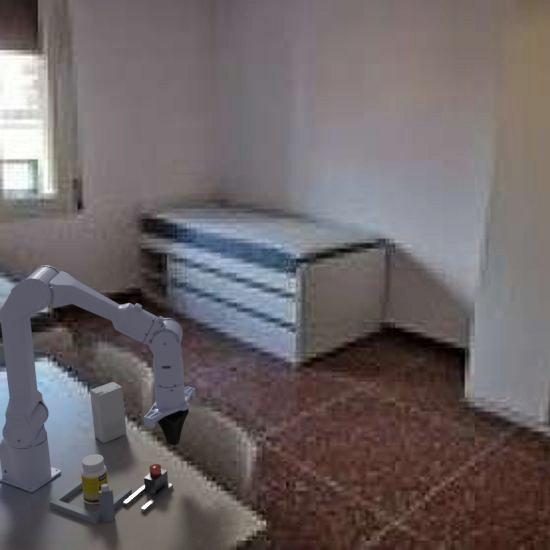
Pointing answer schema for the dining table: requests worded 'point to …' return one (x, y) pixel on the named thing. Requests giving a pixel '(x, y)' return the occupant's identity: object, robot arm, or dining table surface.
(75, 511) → the press bed
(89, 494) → the supplement bottle
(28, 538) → the dining table surface
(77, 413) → the dining table surface
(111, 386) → the skincare box
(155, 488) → the grey slider block
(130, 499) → the track
